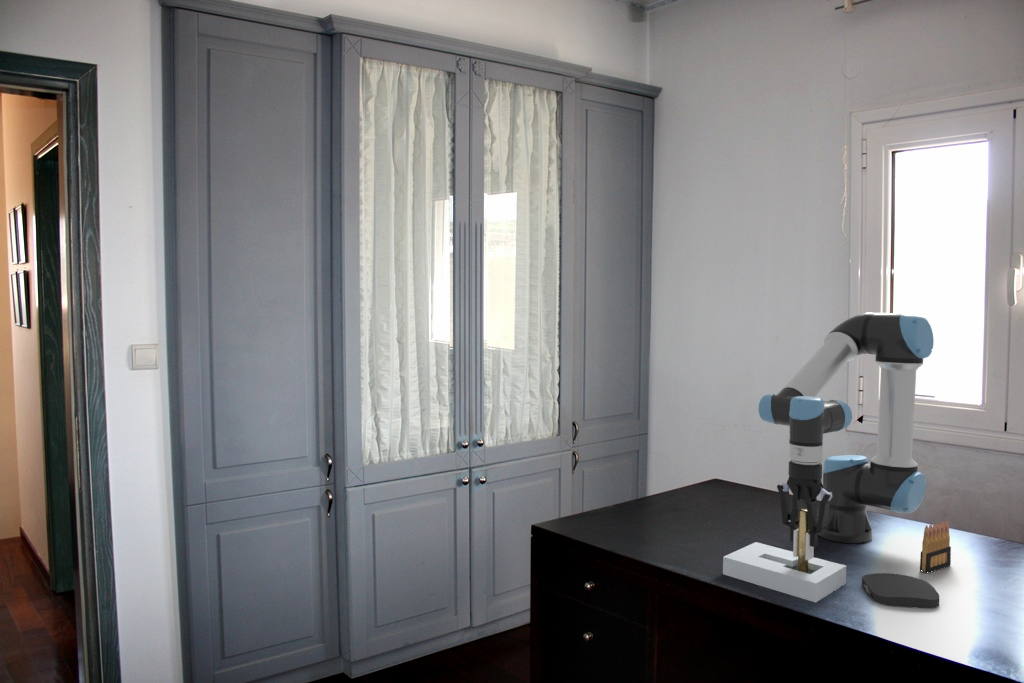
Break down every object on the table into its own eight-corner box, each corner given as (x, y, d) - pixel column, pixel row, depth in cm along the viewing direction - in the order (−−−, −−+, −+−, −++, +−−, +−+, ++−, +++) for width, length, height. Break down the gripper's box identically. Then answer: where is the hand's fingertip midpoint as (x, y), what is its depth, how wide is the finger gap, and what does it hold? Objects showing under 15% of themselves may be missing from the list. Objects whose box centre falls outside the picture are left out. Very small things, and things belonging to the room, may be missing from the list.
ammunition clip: (926, 573, 192) (928, 527, 191) (919, 571, 194) (920, 525, 193) (950, 565, 197) (952, 520, 197) (943, 563, 199) (945, 518, 198)
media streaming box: (944, 611, 171) (945, 598, 171) (875, 606, 173) (875, 594, 173) (921, 585, 185) (922, 573, 185) (857, 582, 188) (857, 570, 187)
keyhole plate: (845, 583, 186) (846, 565, 185) (815, 602, 175) (816, 583, 174) (755, 558, 203) (755, 542, 203) (722, 574, 192) (723, 556, 192)
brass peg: (809, 579, 188) (810, 507, 186) (816, 587, 183) (817, 513, 182) (789, 579, 188) (790, 507, 186) (795, 586, 183) (797, 513, 182)
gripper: (767, 458, 186) (766, 552, 188) (830, 469, 175) (827, 569, 177) (782, 453, 191) (780, 545, 193) (844, 464, 180) (841, 561, 182)
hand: (803, 556), depth 185 cm, fingers closed on brass peg, 2 cm apart
